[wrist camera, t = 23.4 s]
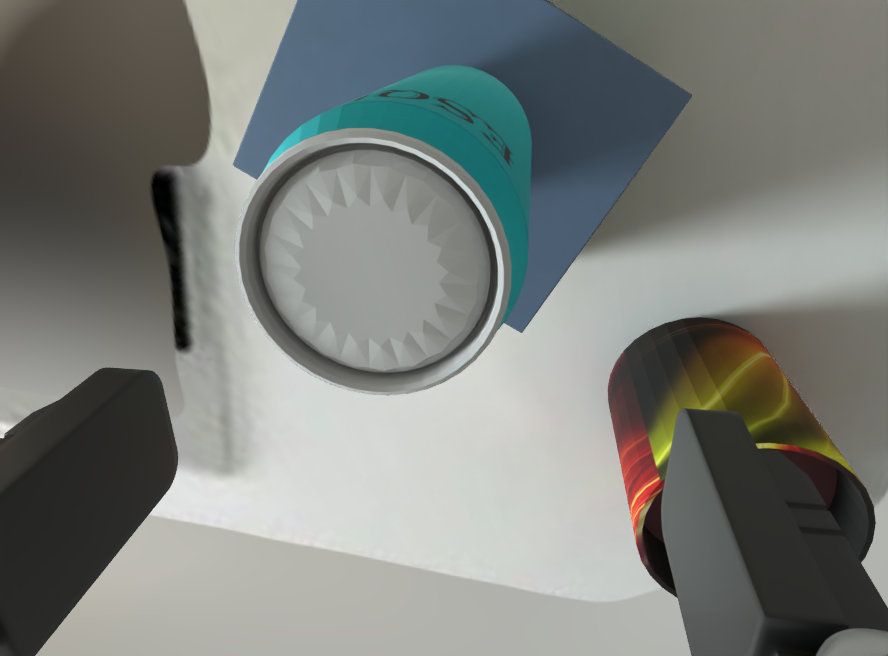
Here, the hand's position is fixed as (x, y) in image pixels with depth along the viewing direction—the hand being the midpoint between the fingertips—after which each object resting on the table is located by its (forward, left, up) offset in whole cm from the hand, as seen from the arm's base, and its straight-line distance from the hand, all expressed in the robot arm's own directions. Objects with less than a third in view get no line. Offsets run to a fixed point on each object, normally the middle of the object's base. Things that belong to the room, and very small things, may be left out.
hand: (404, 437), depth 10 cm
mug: (-14, +15, -26) cm, 33 cm away
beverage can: (+1, -2, -18) cm, 18 cm away
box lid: (+2, -2, -18) cm, 19 cm away
